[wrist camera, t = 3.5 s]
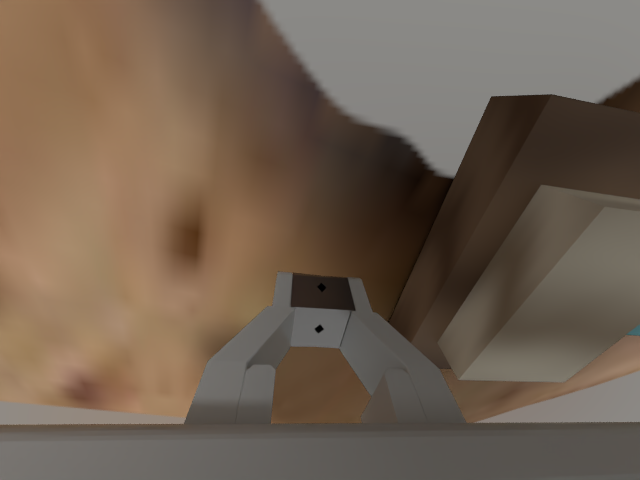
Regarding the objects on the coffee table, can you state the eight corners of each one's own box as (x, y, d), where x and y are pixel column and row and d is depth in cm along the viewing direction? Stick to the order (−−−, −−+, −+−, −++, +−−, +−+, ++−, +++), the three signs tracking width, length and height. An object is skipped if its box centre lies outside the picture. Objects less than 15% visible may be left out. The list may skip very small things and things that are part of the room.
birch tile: (541, 184, 8) (605, 206, 6) (674, 204, 9) (763, 229, 7) (437, 342, 13) (457, 380, 11) (530, 346, 13) (564, 382, 12)
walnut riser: (491, 96, 9) (551, 94, 7) (710, 140, 10) (819, 150, 8) (384, 331, 16) (397, 367, 14) (522, 338, 17) (553, 371, 15)
